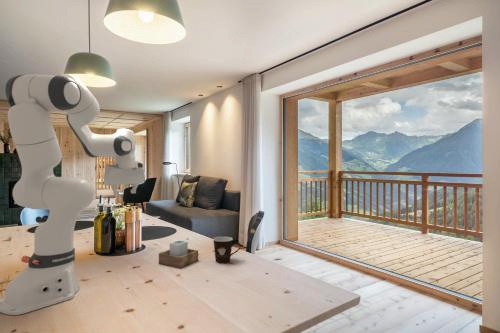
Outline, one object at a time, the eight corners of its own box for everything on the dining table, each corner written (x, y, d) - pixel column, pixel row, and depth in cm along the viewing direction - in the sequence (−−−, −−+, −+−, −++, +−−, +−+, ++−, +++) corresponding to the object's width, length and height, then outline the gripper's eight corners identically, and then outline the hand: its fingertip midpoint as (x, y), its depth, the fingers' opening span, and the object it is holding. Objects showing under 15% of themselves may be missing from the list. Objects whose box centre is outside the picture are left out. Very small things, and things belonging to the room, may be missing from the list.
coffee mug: (209, 262, 136) (209, 239, 136) (220, 257, 144) (220, 235, 144) (231, 266, 131) (232, 243, 130) (241, 261, 138) (241, 238, 138)
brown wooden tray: (180, 268, 128) (180, 257, 128) (158, 263, 133) (158, 253, 133) (198, 260, 138) (198, 250, 138) (177, 256, 144) (177, 246, 144)
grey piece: (178, 263, 132) (178, 244, 132) (169, 261, 134) (169, 243, 134) (187, 259, 137) (187, 241, 137) (178, 257, 140) (179, 240, 139)
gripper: (109, 164, 131) (109, 196, 131) (146, 164, 149) (146, 192, 149) (100, 164, 134) (100, 195, 134) (137, 164, 152) (137, 192, 152)
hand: (124, 194), depth 142 cm, fingers open, 8 cm apart
